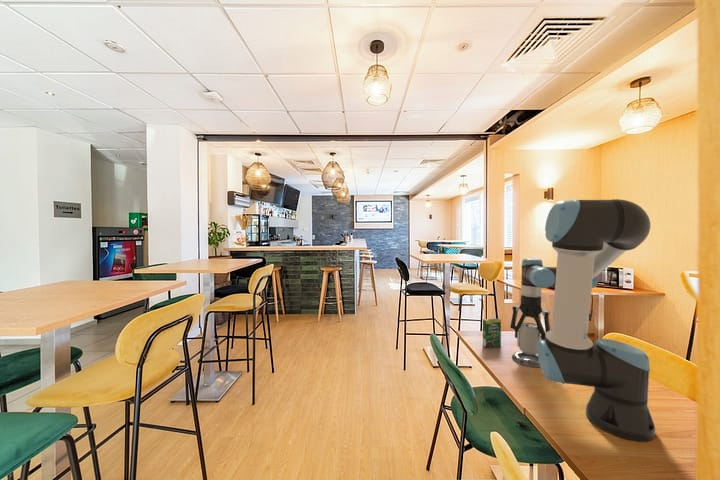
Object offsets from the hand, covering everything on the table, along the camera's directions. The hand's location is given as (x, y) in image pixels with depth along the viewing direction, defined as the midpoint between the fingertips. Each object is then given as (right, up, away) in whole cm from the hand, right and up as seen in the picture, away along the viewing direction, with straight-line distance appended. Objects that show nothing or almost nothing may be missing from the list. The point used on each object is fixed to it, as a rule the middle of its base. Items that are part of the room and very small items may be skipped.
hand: (529, 348), depth 128 cm
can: (0, -2, 0) cm, 2 cm away
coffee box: (-10, -5, +15) cm, 18 cm away
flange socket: (0, -5, 0) cm, 5 cm away
